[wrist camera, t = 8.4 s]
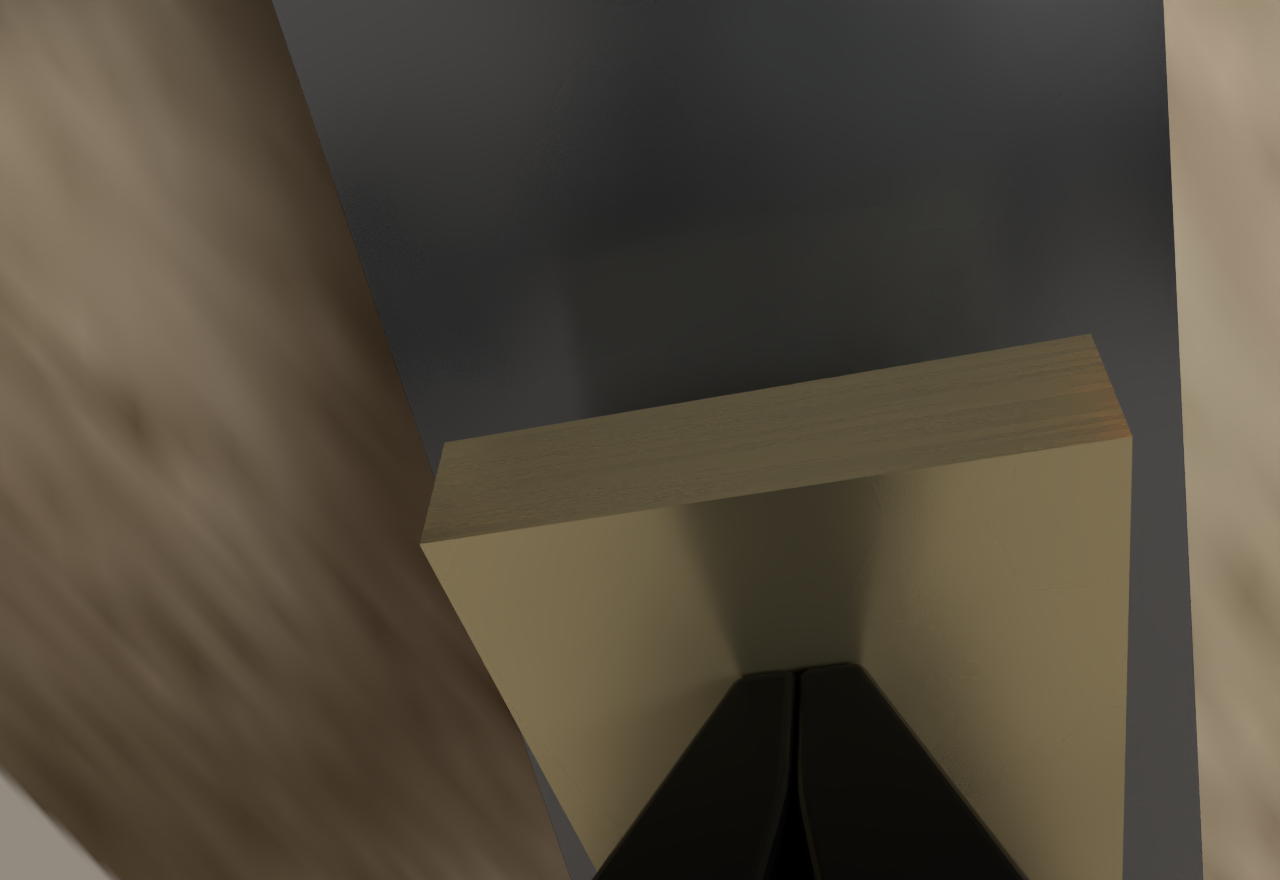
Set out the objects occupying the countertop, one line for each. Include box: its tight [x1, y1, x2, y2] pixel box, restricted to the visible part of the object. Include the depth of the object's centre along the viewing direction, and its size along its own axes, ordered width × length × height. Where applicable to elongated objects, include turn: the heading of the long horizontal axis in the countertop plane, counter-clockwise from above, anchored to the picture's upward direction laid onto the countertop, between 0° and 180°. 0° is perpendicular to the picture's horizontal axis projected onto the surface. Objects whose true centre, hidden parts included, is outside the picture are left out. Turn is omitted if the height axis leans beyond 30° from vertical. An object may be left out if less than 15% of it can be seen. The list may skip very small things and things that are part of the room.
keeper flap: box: [419, 334, 1132, 880], centre depth 9 cm, size 7×4×1 cm, turn 13°
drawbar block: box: [272, 0, 1203, 880], centre depth 11 cm, size 16×6×6 cm, turn 13°
